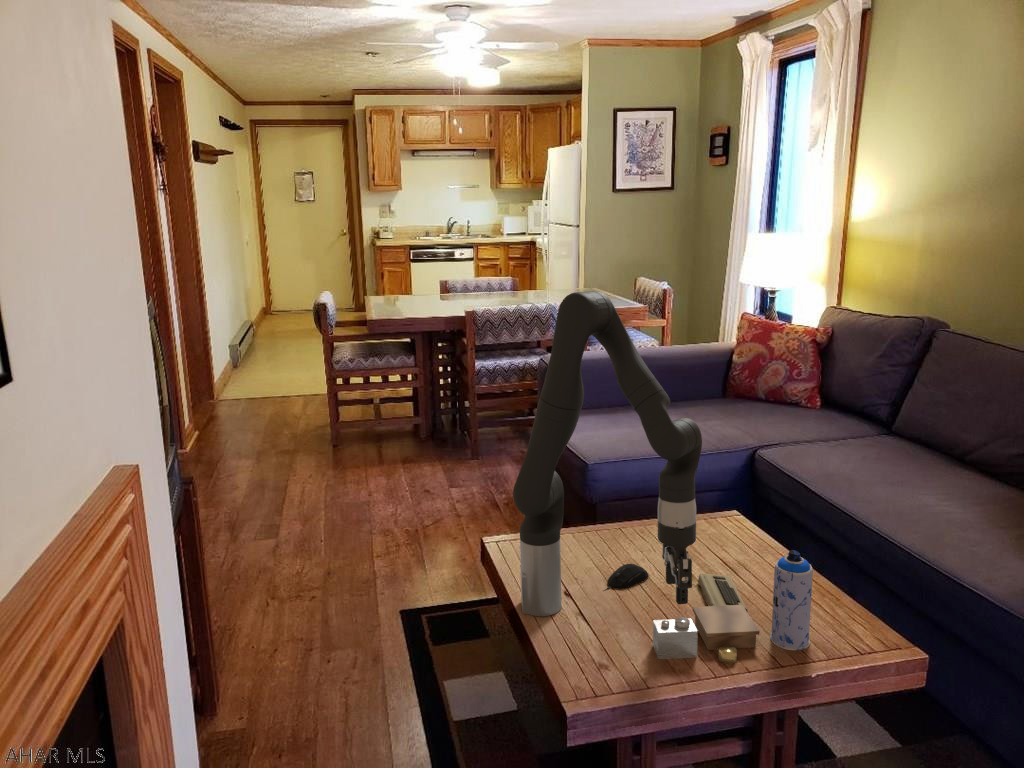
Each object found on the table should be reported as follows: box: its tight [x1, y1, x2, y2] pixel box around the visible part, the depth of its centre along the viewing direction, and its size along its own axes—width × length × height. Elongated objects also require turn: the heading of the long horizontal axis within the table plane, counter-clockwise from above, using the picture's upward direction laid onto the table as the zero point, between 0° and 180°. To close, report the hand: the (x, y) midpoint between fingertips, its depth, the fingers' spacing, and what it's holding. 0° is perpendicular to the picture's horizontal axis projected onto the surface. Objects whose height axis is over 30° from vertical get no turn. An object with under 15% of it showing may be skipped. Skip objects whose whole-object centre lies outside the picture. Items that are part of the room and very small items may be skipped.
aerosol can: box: [770, 549, 814, 651], centre depth 161 cm, size 8×8×20 cm
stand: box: [692, 605, 761, 651], centre depth 166 cm, size 11×11×4 cm
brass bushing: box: [717, 645, 738, 665], centre depth 158 cm, size 4×4×2 cm
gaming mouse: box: [603, 563, 649, 592], centre depth 191 cm, size 6×15×4 cm, turn 129°
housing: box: [652, 616, 699, 660], centre depth 160 cm, size 8×5×7 cm, turn 92°
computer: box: [697, 573, 749, 614], centre depth 182 cm, size 16×8×3 cm, turn 178°
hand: (676, 593), depth 158 cm, fingers open, 8 cm apart
